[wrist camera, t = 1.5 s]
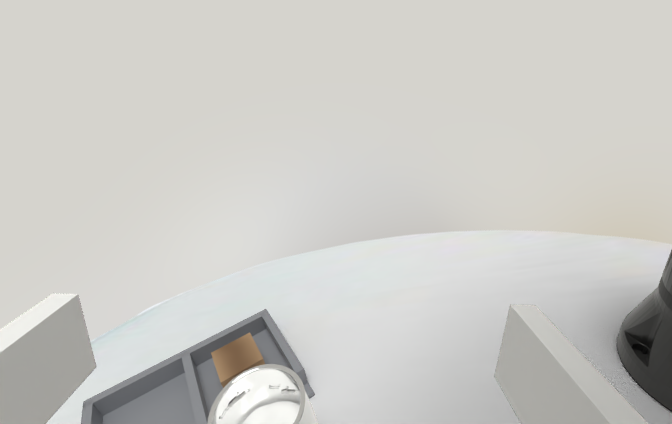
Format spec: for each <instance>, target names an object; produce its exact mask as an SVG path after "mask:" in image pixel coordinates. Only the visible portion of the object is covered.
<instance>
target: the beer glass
mask: <svg viewBox="0 0 672 424" xmlns="http://www.w3.org/2000/svg"><path fill="white" fill-rule="evenodd" d="M207 424H318V420H317V418H316V415H315V412H314V409H313V407H312V404H311V402H310V400H309V398H308V395H307V393H306V391H305V389H304V385H303V383H302V381H301V379H300V378H299V376H298V375H297V374H296V373H295V372H294V371H293V370H291V369H289V368H287V367H285V366H282V365H277V364H265V365H259V366H256V367H253V368H250V369H248V370H246V371H244V372H242V373H241V374H239V375H238V376H236V377H235V378H234V379H232V380H231V381H230V382H229V383H228V384H227V385H226V386H225V387H224V388H223V389H222V391H221V392H220V393H219V395H218V396H217V398H216V399H215V401H214V403H213V405H212V407H211V410H210V413H209V417H208V422H207Z"/></svg>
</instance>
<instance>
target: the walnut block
mask: <svg viewBox="0 0 672 424" xmlns="http://www.w3.org/2000/svg"><path fill="white" fill-rule="evenodd" d="M211 355H212V358H213V361H214V364H215V367H216V370H217V373H218V376H219V379H220V382H221V384H222V386H223V388H224V387H225V386H226V385H227V384H228V383H229V382H230V381H231V380H232V379H234V378H235V377H236V376H238V375H239V374H241V373H242V372H244V371H246V370H248V369H250V368H253V367H256V366H259V365H265V362H264V359H263V357H262V355H261V353H260V351H259V349H258V347H257V345H256V343H255V341H254V339H253V338H252V336H251V334H250V333H248V334H246V335H244V336H242V337H240V338H238V339H236V340H234V341H232V342H231V343H229V344H227V345H225V346H223V347H221V348H219V349H217V350H215V351H213V352H212V353H211Z"/></svg>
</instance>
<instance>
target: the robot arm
mask: <svg viewBox="0 0 672 424" xmlns="http://www.w3.org/2000/svg"><path fill="white" fill-rule="evenodd" d="M617 349H618V353H619V356H620V358H621V360H622V362H623V364H624V366H625V368H626V369H627V371H628V372H629V373H630V375H631V376H632V377H633V378H634V379H635V381H636V382H637V383H638V384H639V385H640V386H641V387H642V388H643V389H644V390H645V391H647V392H648V393H649V394H650V395H651V396H652V397H654V398H655V399H656V400H657V401H659V402H660V403H661V404H663V405H664V406H665V407H667V408H668V409H670V410H671V411H672V250H671V253H670V255H669V258H668V261H667V263H666V266H665V269H664V271H663V274H662V277H661V280H660V283H659V286H658V288H657V289H655V290H654V291H653V292H652V293H651V294H650V295H649V296H648V297H647V298H646V299H645V300H643V301H642V302H641V303H640V304H639V305H638V306H637V307H636V308H635V309H634V310H633V311H631V312H630V313H629V314H628V315H627V316H626V318H625V319H624V321H623V323H622V326H621V329H620V332H619V335H618V339H617ZM95 368H96V363H95V359H94V355H93V351H92V347H91V343H90V339H89V335H88V331H87V327H86V324H85V320H84V315H83V311H82V308H81V303H80V299H79V295H78V294H51V295H50V296H49V297H47V298H46V299H44V300H43V301H41V302H40V303H38V304H37V305H35V306H34V307H33V308H31V309H29V310H28V311H26V312H25V313H24V314H22V315H21V316H19V317H18V318H16V319H15V320H13V321H12V322H10V323H9V324H7V325H6V326H5V327H3V328H2V329H0V424H46V423H47V421H48V420H49V419H50V418H51V417H52V416H53V415H54V414H55V413H56V411H57V410H58V409H59V408H60V407H61V406H62V405H63V404H64V403H65V401H66V400H67V399H68V398H69V397H70V396H71V395H72V394H73V393H74V391H75V390H76V389H77V388H78V387H79V386H80V385H81V384H82V383H83V381H84V380H85V379H86V378H87V377H88V376H89V375H90V374H91V373H92V371H93V370H94V369H95ZM494 377H495V378H496V380H497V382H498V384H499V386H500V387H501V389H502V391H503V393H504V394H505V396H506V398H507V400H508V401H509V403H510V405H511V407H512V409H513V410H514V412H515V414H516V416H517V417H518V419H519V421H520V423H521V424H649V423H648V422H647V421H646V420H645V419H644V418H643V417H642V416H641V415H640V414H639V413H638V412H637V411H636V410H635V409H634V408H633V407H632V406H631V405H630V404H629V403H628V401H627V400H626V399H625V398H624V397H623V396H622V395H621V394H620V393H619V392H618V391H617V390H616V389H615V388H614V387H613V386H612V385H611V384H610V383H609V382H608V381H607V380H606V379H605V378H604V376H603V375H602V374H601V373H600V372H599V371H598V370H597V369H596V368H595V367H594V366H593V365H592V364H591V363H590V362H589V361H588V360H587V359H586V358H585V357H584V356H583V355H582V354H581V352H580V351H579V350H578V349H577V348H576V347H575V346H574V345H573V344H572V343H571V342H570V341H569V340H568V339H567V338H566V337H565V336H564V335H563V334H562V333H561V332H560V331H559V330H558V328H557V327H556V326H555V325H554V324H553V323H552V322H551V321H550V320H549V319H548V318H547V317H546V316H545V315H544V314H543V313H542V312H541V311H540V310H539V309H538V308H537V307H536V306H535V305H510V308H509V312H508V317H507V321H506V326H505V330H504V335H503V339H502V344H501V348H500V353H499V357H498V362H497V366H496V371H495V375H494Z"/></svg>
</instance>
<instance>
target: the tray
mask: <svg viewBox="0 0 672 424" xmlns="http://www.w3.org/2000/svg"><path fill="white" fill-rule="evenodd" d="M248 333H250V334H251V336H252V338H253V339H254V341H255V343H256V345H257V347H258V349H259V351H260V353H261V355H262V357H263V359H264V362H265V364H277V365H282V366H285V367H287V368H289V369H291V370H293V371H294V372H295V373H296V374H297V375H298V376H299V378H300V379H301V381H302V383H303V385H304V389H305V391H306V393H307V395H308V398H311V397H312V396H314V395H315V394H314V392H313V390H312V388H311V387H310V385H309V384H308V381H307V378H306V374H305V371H304V368H303V367H302V365H301V363H300V362H299V360H298V359H297V357H296V355H295V354H294V352H293V351H292V349H291V348H290V346H289V344H288V343H287V341H286V340H285V338H284V336H283V335H282V333H281V332H280V330H279V329H278V327H277V325H276V324H275V322H274V321H273V319H272V317H271V316H270V314H269V313H268V311H267V310H266V309H265V310H263V311H261V312H259V313H257V314H255V315H253V316H251V317H249V318H247V319H245V320H243V321H241V322H239V323H237V324H235V325H233V326H231V327H229V328H227V329H225V330H223V331H222V332H220V333H218V334H216V335H214V336H212V337H210V338H208V339H206V340H204V341H202V342H200V343H198V344H196V345H194V346H192V347H190V348H188V349H186V350H184V351H182V352H180V353H178V354H176V355H174V356H172V357H170V358H168V359H166V360H164V361H162V362H160V363H159V364H157V365H155V366H153V367H151V368H149V369H147V370H145V371H143V372H141V373H139V374H137V375H135V376H133V377H131V378H129V379H127V380H125V381H123V382H121V383H119V384H117V385H115V386H113V387H111V388H109V389H107V390H105V391H103V392H101V393H99V394H97V395H96V396H94V397H92V398H90V399H88V400H86V401H84V402H83V410H82V419H81V424H207V422H208V417H209V413H210V410H211V407H212V405H213V403H214V401H215V399H216V398H217V396H218V395H219V393H220V392H221V391H222V389H223V386H222V384H221V382H220V379H219V376H218V373H217V370H216V367H215V364H214V361H213V358H212V355H211V353H212V352H213V351H215V350H217V349H219V348H221V347H223V346H225V345H227V344H229V343H231V342H232V341H234V340H236V339H238V338H240V337H242V336H244V335H246V334H248Z"/></svg>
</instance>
